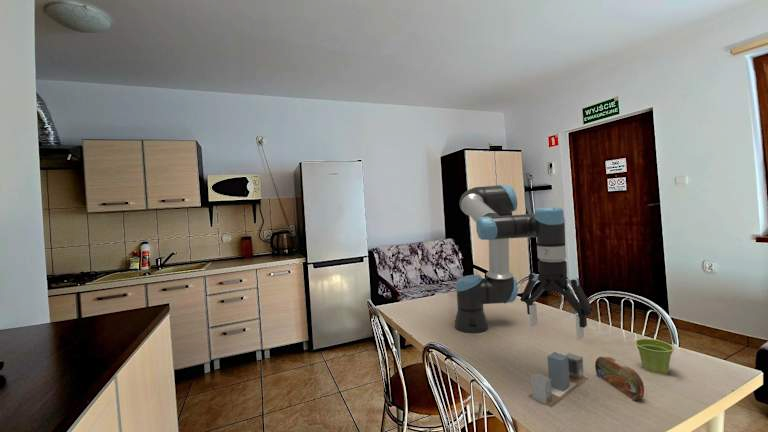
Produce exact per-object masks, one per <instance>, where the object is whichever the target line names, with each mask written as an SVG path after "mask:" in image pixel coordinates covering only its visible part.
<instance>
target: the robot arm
mask: <svg viewBox="0 0 768 432" xmlns="http://www.w3.org/2000/svg"><path fill="white" fill-rule="evenodd" d="M459 208H460V210H461V211H462V213H464V215H466V216H468V217H469V216H470V217H471V219H472V220H473V221H474V222H475V224H476V225H475V226H476V227H475V229H476V234H477V237H478V239H479V240H481V241H482V240H483V241H486V240H488V266H489V269H488V271H486V273H485V277H484V278H483V277H482V276H481V275H479V274H469V275H465V276H462V277H460V278H458V279H457V280H456V285H455V292H456V303H457V305H456V307H457V311H456V316H455V320H454V328H455V329H456V330H458V331H460V332H463V333H470V334H475V333H476V334H477V333H482V332H485V331H487V330H488V329H489V321H488V319H487V317H486V314H485V311H484V305H494V304H508V303H513V302H514V301H515V300H516V299H517V297H518V294H519V293H518V292H519V286H518V281H517V279H516V277H515V276H514V274H513V273H512V272H511V271H510V245H509V243H510V239H520V238H521V239H522V238H526V239H527V238H536V252H537V259H538V261H537V270H538V274H537V273H536V272H532V273H530V274H528V281H527V284H526V286H525V287H524V290H523V292H522V294H521V297H520V301H521V302H524V303H525V304H526V312H527V315H529V327H535V326H537V325H538V314H537V304H536V303H535V302H536V300H537V299H538V298H539V297H540V296H541V295H542V294H543V293H544V292H545V291H547V292H553V293H559V294H560V295H561V296H562V297H564V299H565V300H566V301H567V302H568V303H569V305H570V306H571V307H572V309H574V311H575V312H576V313H577V314H576V315H575V329H576V332H575V333H576V339H577V340H582V339H583V338H585V328H586V327H587V325H588V323H587V322H588V320H587V317H588V316H590V315H592V314H594V313H595V310H594V308H593V306H592V305H591V303H590V301H589V299H588V297H587V295H586V294H585V292H584V289H583V288H582V286H581V282H580V278H569V277H568V275H567V274H568V267H567V266H568V264H567V263H568V262H567V261H566V259H567V250H566V248H567V247H566V246H567V245H566V227H565V225H566V224H565V223H566V219H565V216H564V215H565V214H564V209H563V208H562V207H559V206H555V207H554V206H553V207H552V206H551V207H550V206H549V207H537V208H536V209H535V212H534V213H533V212H532V213H525V214H513V212H515V211H517V209H518V197H517V193H516V192H515V190H514V188H513V187H512V186H511V185H506V184H504V185H503V184H499V185H498V184H497V185H488V186H474V187H472V188H469V189H468V190H466V191H465V192H464V193H463V194H461V197H460V199H459ZM537 281H539V282H540V285H539V286H537V289H535V291H534V292H533V289H534V287H535V285H536V283H537ZM568 285H569V287H571V289H572V290H571V289H570V288H569V287H568ZM571 291H573V293H574V294H573V293H572V292H571ZM532 292H533V293H532ZM575 296H576V297H575Z"/></svg>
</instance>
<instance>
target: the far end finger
mask: <svg viewBox="0 0 768 432" xmlns="http://www.w3.org/2000/svg"><path fill="white" fill-rule="evenodd" d="M565 355H566V356H568V364H569V376H570V377H573V378H576V379H578V380H580V379H581V378H582V377H585V376H584V359H583V358H584V357H583V356H580V355H576V354H574V353H571V352H568V353H567V354H565Z"/></svg>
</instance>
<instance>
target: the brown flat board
mask: <svg viewBox="0 0 768 432" xmlns="http://www.w3.org/2000/svg"><path fill="white" fill-rule="evenodd" d="M589 379H590V378H589V377H586V376H584V377H582V378H581V379H580V380H578V379H576V378H573V377H570V376H569V382H570V387H569V388H567V389H566V390H565V391H560V390H558V389H555V388H553V387H551V391H552V401H551V402H549V403H548V404H547V405H546V404H544V403H542V402H540V403H541V404H544V405H546V406H547V407H550V408H553V407H554V406H556V405H557V404H558V403H559V402H561V401H563V400H564V399H565V398H566V397H568V395H570V394H571V393H573V392H574V391H575V390H576V389H577V388H578V387H580V386H581V385H583V384H585V382H587V381H588V380H589ZM527 397H529V398H530V399H533V398H532V392H531V393H529V394H528V395H527Z"/></svg>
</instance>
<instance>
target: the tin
mask: <svg viewBox="0 0 768 432" xmlns="http://www.w3.org/2000/svg"><path fill="white" fill-rule="evenodd" d="M594 368H595V369H594V370H595V373H596V375H597V377H598V378H599V379H602V380H603V381H605V382H606V383H607V384H609V385H610V386H612V387H614V388H615V389H616V390H618V391H619V392H621V393H622V394H624V395H626V396H627V397H628V398H630V399H631V401H638V400H642V399H643V397H644V395H645V386H644V381H643V379H642V378H641V376H640V374H638V372H636V370H634V369H632V368H631V367H629V366H627V365H626V364H624V363H622V362H620V361H619V360H616V359H614V358H613V357H610V356H599V357H597V359H596V360H595V365H594Z"/></svg>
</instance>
